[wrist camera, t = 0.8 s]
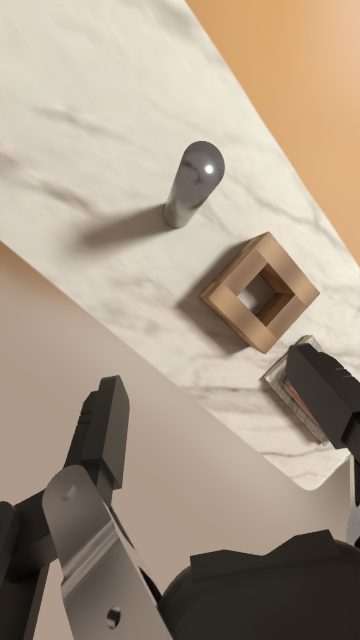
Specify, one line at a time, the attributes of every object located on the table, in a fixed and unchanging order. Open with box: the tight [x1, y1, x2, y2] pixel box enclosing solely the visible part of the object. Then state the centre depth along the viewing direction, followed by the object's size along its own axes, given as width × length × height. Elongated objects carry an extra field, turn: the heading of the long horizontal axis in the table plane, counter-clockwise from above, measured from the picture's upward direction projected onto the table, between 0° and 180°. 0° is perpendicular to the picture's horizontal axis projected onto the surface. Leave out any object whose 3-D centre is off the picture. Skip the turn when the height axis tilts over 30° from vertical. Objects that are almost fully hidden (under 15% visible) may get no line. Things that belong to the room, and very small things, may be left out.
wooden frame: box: [199, 232, 320, 354], centre depth 30 cm, size 11×11×4 cm
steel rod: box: [164, 141, 225, 228], centre depth 23 cm, size 3×3×12 cm
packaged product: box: [264, 335, 330, 446], centre depth 35 cm, size 18×5×10 cm
